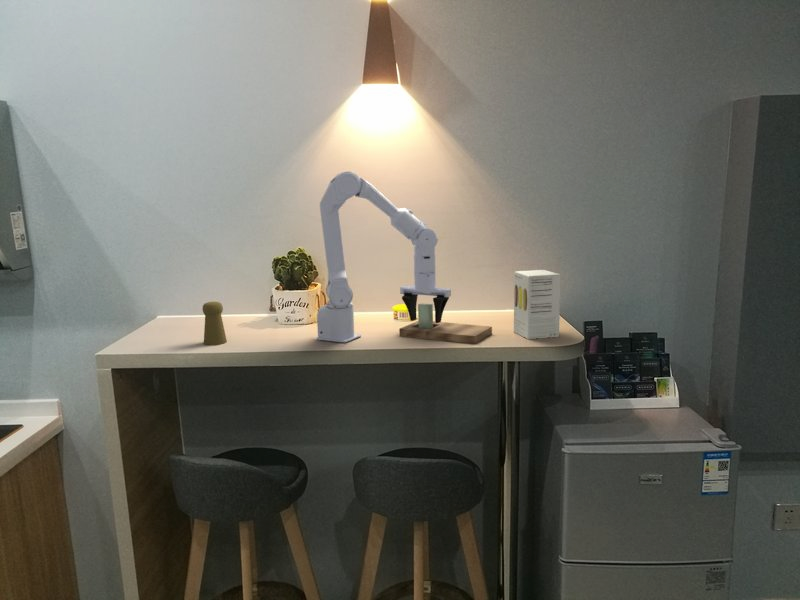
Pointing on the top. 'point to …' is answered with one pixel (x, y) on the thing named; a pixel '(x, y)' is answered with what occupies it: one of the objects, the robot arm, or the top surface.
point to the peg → (425, 315)
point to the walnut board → (448, 332)
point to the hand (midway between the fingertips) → (425, 321)
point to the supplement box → (536, 303)
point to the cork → (213, 324)
